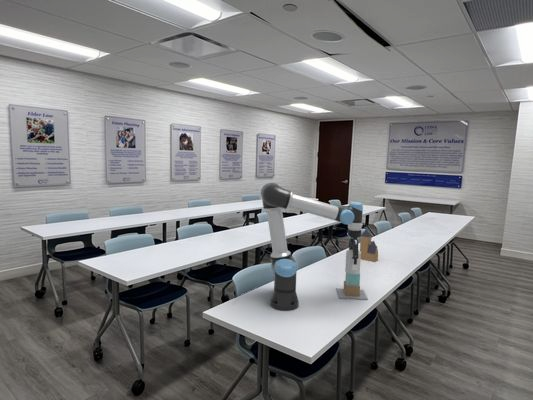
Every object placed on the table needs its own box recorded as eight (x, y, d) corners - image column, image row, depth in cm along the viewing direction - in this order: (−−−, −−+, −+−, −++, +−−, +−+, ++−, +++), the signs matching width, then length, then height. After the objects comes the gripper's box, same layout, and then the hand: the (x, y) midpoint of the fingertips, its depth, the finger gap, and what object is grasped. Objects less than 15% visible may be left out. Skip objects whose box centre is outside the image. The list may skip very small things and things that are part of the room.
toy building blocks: (359, 259, 271) (361, 228, 268) (369, 254, 285) (371, 225, 282) (374, 262, 263) (376, 230, 260) (384, 257, 277) (386, 227, 274)
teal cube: (347, 285, 194) (347, 273, 193) (345, 281, 201) (345, 269, 200) (359, 286, 193) (360, 274, 193) (357, 281, 200) (358, 270, 199)
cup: (349, 268, 202) (350, 249, 201) (362, 271, 197) (363, 251, 196) (342, 271, 196) (343, 251, 194) (356, 275, 191) (357, 254, 189)
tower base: (338, 298, 192) (339, 287, 191) (336, 289, 206) (336, 278, 205) (367, 300, 190) (368, 288, 189) (363, 290, 204) (363, 280, 203)
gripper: (365, 234, 181) (363, 273, 184) (357, 225, 205) (356, 260, 208) (351, 233, 182) (349, 272, 184) (345, 225, 206) (343, 259, 208)
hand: (352, 266), depth 196 cm, fingers open, 12 cm apart
